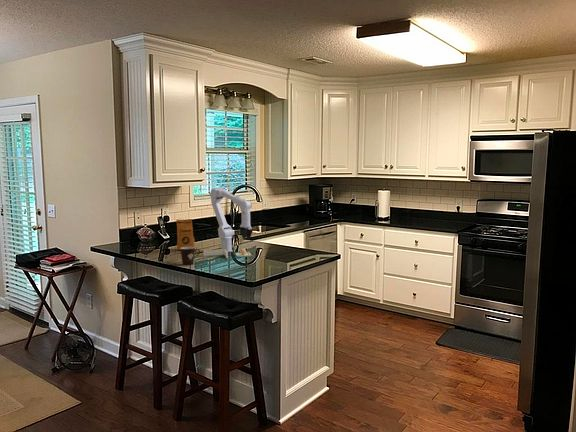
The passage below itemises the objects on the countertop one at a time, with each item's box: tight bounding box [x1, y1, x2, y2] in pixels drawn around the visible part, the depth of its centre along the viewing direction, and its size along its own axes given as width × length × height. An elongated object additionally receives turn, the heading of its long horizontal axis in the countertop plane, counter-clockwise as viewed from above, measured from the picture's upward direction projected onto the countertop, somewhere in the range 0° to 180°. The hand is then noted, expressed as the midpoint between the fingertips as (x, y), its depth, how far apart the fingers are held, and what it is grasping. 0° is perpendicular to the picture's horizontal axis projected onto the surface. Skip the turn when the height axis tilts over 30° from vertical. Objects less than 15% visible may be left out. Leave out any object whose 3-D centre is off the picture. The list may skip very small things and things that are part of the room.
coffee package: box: [175, 218, 196, 251], centre depth 331 cm, size 10×12×22 cm
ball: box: [239, 248, 247, 255], centre depth 310 cm, size 4×4×4 cm
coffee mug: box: [179, 247, 201, 266], centre depth 284 cm, size 12×9×10 cm
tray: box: [235, 251, 252, 258], centre depth 310 cm, size 9×9×1 cm
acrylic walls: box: [203, 249, 229, 259], centre depth 305 cm, size 13×14×4 cm
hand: (246, 239), depth 314 cm, fingers open, 7 cm apart
